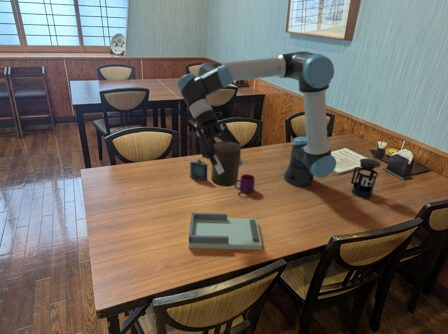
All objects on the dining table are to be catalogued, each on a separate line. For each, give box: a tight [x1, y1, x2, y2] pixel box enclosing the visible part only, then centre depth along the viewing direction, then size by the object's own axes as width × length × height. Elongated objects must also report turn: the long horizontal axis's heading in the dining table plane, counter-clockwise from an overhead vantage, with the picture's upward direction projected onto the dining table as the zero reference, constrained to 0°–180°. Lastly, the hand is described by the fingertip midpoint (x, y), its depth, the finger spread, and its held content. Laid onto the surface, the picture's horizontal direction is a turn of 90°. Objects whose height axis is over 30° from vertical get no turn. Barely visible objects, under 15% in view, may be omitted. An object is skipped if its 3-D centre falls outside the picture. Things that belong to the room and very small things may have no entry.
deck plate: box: [188, 212, 263, 251], centre depth 115 cm, size 26×16×4 cm, turn 91°
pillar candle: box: [210, 141, 242, 188], centre depth 110 cm, size 10×10×15 cm
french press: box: [350, 148, 382, 199], centre depth 146 cm, size 12×9×23 cm
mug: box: [234, 173, 256, 194], centre depth 146 cm, size 7×10×7 cm
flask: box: [189, 158, 208, 182], centre depth 154 cm, size 9×3×11 cm, turn 71°
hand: (231, 168), depth 108 cm, fingers closed on pillar candle, 10 cm apart
